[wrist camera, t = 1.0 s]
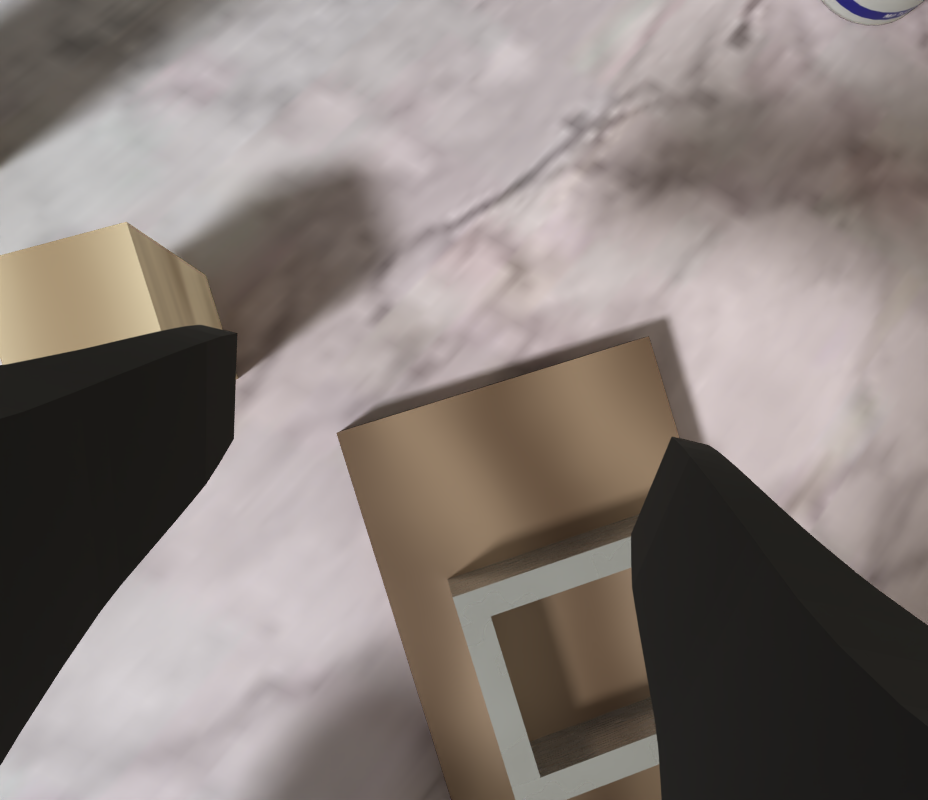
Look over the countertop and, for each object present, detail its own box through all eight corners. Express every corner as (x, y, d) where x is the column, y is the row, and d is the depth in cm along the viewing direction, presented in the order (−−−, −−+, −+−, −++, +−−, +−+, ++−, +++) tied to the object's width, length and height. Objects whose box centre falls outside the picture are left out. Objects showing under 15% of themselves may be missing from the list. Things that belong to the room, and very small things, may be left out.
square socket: (509, 778, 23) (520, 817, 21) (447, 579, 23) (452, 597, 21) (701, 706, 24) (731, 736, 22) (642, 513, 24) (667, 523, 22)
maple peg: (130, 410, 23) (17, 412, 17) (97, 305, 23) (-31, 263, 16) (238, 378, 24) (172, 367, 17) (205, 275, 24) (126, 222, 17)
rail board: (495, 928, 25) (501, 961, 23) (340, 431, 24) (336, 433, 23) (777, 816, 26) (800, 840, 24) (633, 340, 25) (649, 336, 24)
